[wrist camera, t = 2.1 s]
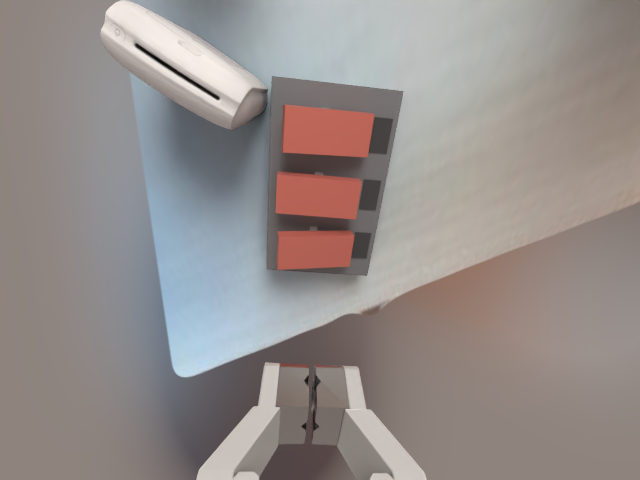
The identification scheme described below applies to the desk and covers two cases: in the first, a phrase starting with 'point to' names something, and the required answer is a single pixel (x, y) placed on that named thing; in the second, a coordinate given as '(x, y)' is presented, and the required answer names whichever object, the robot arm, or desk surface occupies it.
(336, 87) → the rocker switch panel
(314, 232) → the block
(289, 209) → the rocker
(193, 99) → the photo printer
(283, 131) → the block
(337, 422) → the robot arm
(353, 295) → the desk surface
